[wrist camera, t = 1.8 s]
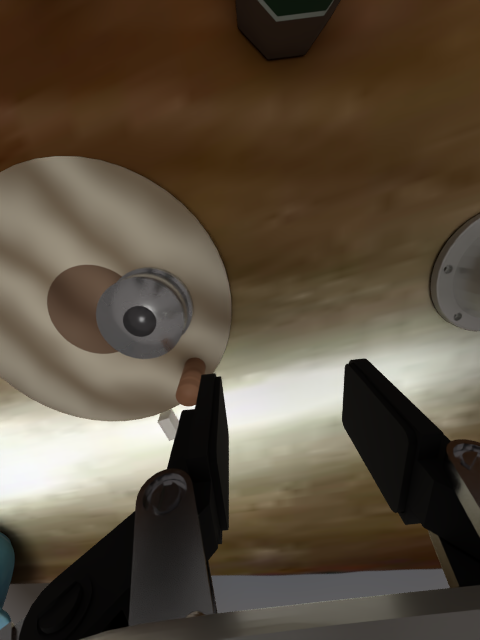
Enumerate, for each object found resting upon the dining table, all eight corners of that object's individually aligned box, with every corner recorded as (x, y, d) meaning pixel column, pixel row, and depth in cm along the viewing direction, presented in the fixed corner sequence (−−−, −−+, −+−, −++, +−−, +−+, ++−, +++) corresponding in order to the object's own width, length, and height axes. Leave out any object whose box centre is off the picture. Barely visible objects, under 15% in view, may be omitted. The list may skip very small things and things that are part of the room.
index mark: (160, 412, 31) (157, 421, 30) (171, 409, 31) (168, 417, 30) (171, 431, 32) (169, 440, 31) (182, 427, 32) (180, 437, 31)
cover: (135, 250, 23) (115, 255, 19) (208, 296, 25) (204, 309, 21) (99, 317, 25) (75, 334, 21) (169, 355, 27) (158, 378, 23)
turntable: (17, 85, 20) (-75, 23, 14) (281, 272, 26) (298, 286, 20) (-69, 340, 27) (-156, 374, 21) (156, 444, 33) (140, 494, 27)
